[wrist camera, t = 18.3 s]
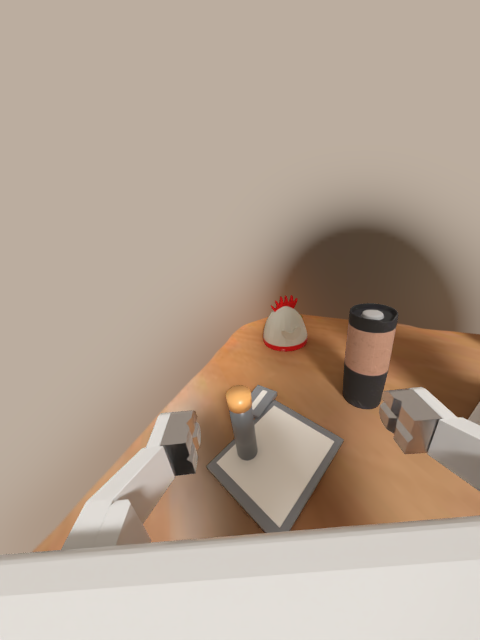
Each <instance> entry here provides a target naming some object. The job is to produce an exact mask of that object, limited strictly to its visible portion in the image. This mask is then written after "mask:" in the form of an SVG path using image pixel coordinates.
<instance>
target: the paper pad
mask: <svg viewBox="0 0 480 640" xmlns="http://www.w3.org/2000/svg"><path fill="white" fill-rule="evenodd" d="M254 426H255V434H256V441H257V449H258V451H257V455H256V456H255V457H254V458H253V459H251V460H248V461H246V460H242V459H241V458H240V457H239V456H238V454H237V449H236V443H235V439H234V440H233V441H232V442H231V443H230V444H229V445H228V446H227V447H225V448H224V449H223V450H222V451H221V452H220V453H219V454H218V455H217V456H216V457H215V458H214V459H213V460H212V461H211V462H210V463H209V464H208V465H207V466H206V467H207V469H208V470H209V471H210V472H211V473H212V474H213V475H214V476H215V478H216V479H217V480H218V481H219V482H220V483H221V484H222V485H223V486H224V487H225V489H226V490H227V491H228V492H229V493H230V494H231V495H232V496H233V497H234V499H235V500H236V501H237V502H238V503H239V504H240V505H241V506H242V507H243V509H244V510H245V511H246V512H247V513H248V514H249V515H250V516H251V517H252V518H253V520H254V521H255V522H256V523H257V524H258V525H259V526H260V527H261V528H262V530H263V531H264V532H265V533H273V532H285V531H290V530H291V528H292V526H293V525H294V523H295V521H296V520H297V518H298V516H299V515H300V513H301V511H302V510H303V508H304V506H305V505H306V503H307V501H308V500H309V498H310V496H311V495H312V493H313V491H314V490H315V488H316V486H317V485H318V483H319V481H320V480H321V478H322V476H323V475H324V473H325V471H326V470H327V468H328V466H329V465H330V463H331V461H332V460H333V458H334V456H335V455H336V453H337V451H338V450H339V448H340V446H341V445H342V443H343V441H344V439H342V438H340V437H339V436H337V435H335V434H333V433H332V432H330V431H328V430H326V429H325V428H323V427H321V426H319V425H318V424H316V423H314V422H312V421H311V420H309V419H307V418H305V417H304V416H302V415H300V414H298V413H297V412H295V411H293V410H291V409H290V408H288V407H286V406H284V405H283V404H281V403H279V402H277V401H276V400H274V401H273V402H272V403H271V404H270V405H269V406H268V407H267V409H266V410H265V411H264V413H263V414H262V416H261V417H260V418H259V419H258V418H255V419H254Z"/></svg>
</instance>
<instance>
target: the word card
mask: <svg viewBox="0 0 480 640" xmlns="http://www.w3.org/2000/svg"><path fill="white" fill-rule="evenodd" d="M276 396H277V392H276V391H273V390H270V389H268V388H265V387H262V386H260V385H257V387H256V388H255V389H254V390H253V391H252V393H251V398H252V411H253V418H258V419H259V418H260V417H261V416H262V414H263V413H264V411H265V410H266V409H267V407H268V406H269V405H270V404H271V403H272V402H273V400H274V399H275V398H276Z"/></svg>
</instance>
